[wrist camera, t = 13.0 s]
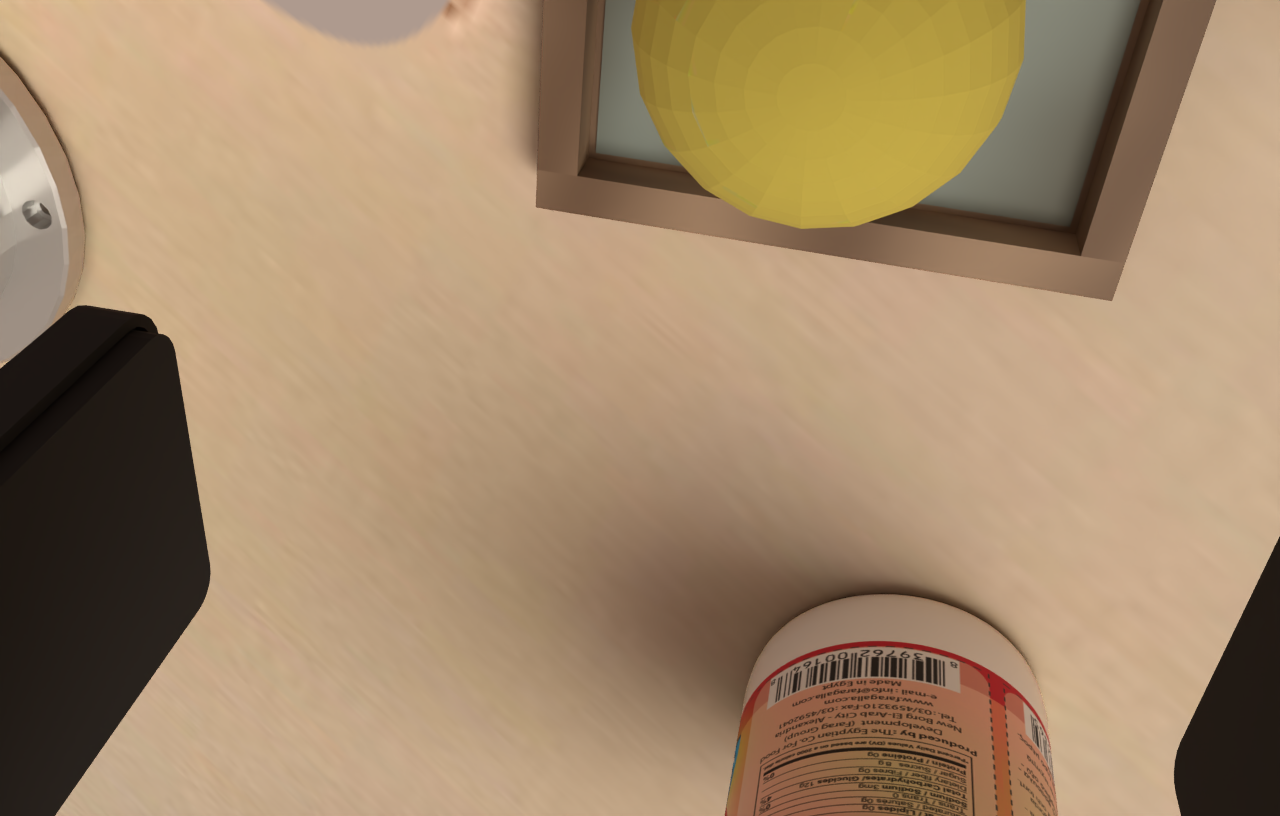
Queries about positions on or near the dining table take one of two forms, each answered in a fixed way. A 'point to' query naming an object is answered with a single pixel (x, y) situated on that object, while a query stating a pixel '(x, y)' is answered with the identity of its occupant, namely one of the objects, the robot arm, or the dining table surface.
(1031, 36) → the tray
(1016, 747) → the fruit juice
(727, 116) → the light bulb
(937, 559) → the dining table surface
